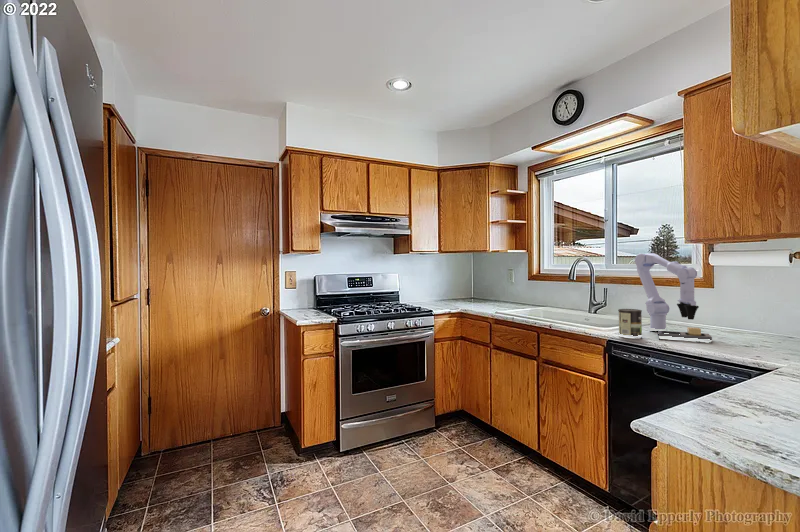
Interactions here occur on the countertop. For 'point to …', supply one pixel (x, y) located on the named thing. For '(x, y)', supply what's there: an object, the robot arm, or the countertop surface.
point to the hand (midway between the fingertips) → (687, 318)
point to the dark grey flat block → (684, 335)
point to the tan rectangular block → (693, 331)
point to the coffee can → (630, 322)
